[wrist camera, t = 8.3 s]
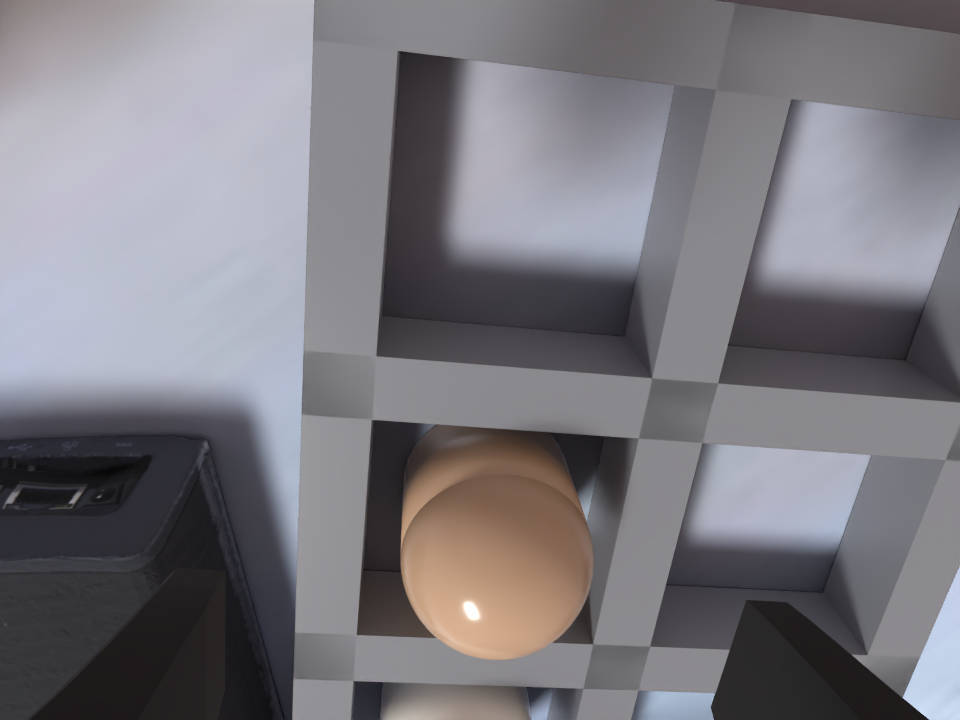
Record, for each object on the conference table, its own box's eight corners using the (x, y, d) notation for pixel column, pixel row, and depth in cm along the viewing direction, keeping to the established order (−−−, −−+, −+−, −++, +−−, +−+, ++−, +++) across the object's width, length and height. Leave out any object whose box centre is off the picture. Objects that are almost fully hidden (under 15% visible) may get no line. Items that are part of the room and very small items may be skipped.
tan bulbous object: (396, 545, 21) (389, 702, 16) (410, 401, 20) (407, 528, 15) (554, 554, 22) (592, 709, 17) (580, 415, 20) (633, 541, 15)
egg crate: (788, 805, 26) (823, 878, 24) (299, 797, 25) (287, 875, 22) (1077, 59, 17) (1177, 63, 15) (331, -42, 15) (316, -55, 13)
